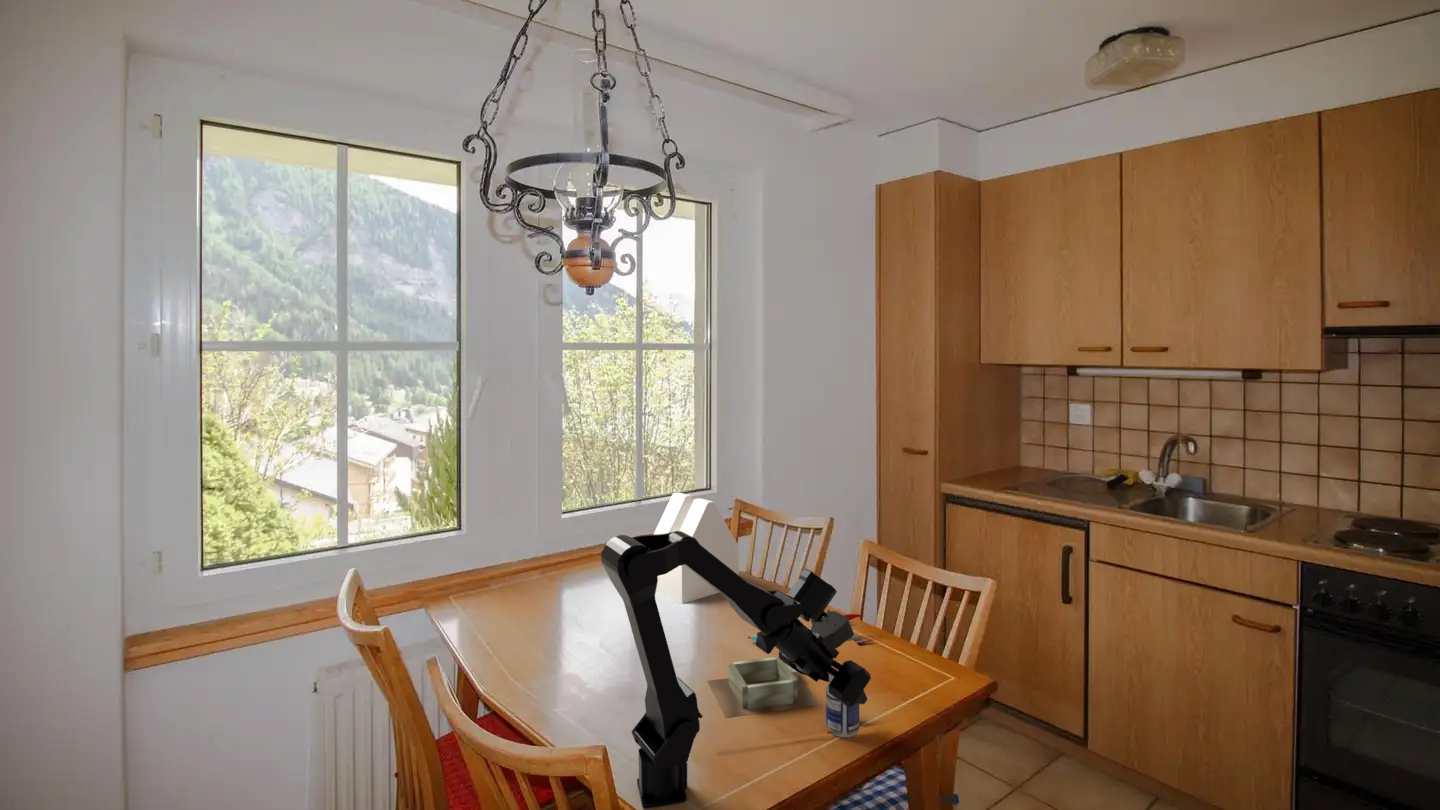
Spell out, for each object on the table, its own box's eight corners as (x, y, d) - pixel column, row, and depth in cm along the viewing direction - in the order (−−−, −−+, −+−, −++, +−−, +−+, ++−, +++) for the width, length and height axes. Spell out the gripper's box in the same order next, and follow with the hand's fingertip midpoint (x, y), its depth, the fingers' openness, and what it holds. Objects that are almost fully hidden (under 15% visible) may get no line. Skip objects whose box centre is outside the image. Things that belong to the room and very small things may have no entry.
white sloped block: (682, 603, 181) (681, 507, 179) (648, 588, 192) (647, 497, 190) (738, 587, 193) (738, 496, 191) (703, 573, 205) (702, 488, 203)
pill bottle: (855, 720, 125) (855, 666, 124) (862, 738, 119) (863, 681, 118) (822, 721, 125) (823, 666, 124) (828, 739, 119) (829, 682, 118)
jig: (725, 723, 124) (725, 695, 123) (707, 685, 137) (706, 660, 137) (821, 709, 128) (821, 683, 128) (794, 674, 142) (794, 650, 141)
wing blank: (783, 683, 136) (783, 673, 136) (776, 673, 140) (776, 663, 140) (798, 681, 137) (798, 671, 137) (790, 671, 141) (790, 661, 141)
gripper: (862, 621, 110) (913, 673, 116) (792, 585, 126) (841, 632, 132) (820, 682, 107) (875, 732, 113) (755, 637, 123) (806, 683, 129)
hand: (849, 690), depth 122 cm, fingers open, 8 cm apart
